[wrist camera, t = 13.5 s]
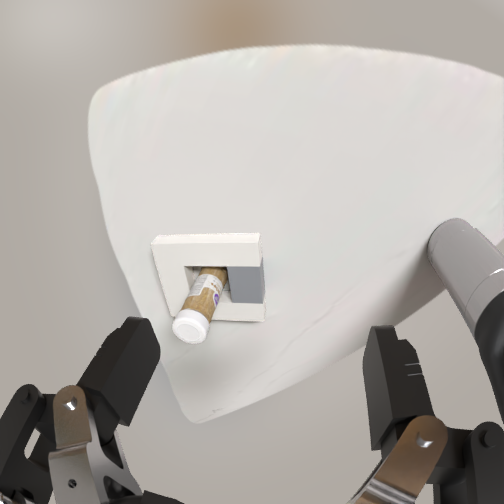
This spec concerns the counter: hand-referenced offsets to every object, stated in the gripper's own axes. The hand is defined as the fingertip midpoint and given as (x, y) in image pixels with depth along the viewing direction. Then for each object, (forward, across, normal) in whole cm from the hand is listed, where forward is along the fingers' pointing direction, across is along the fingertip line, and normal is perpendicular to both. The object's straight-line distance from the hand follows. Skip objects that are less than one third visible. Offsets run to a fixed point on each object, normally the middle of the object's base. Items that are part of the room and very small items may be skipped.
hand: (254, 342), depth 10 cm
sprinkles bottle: (+30, +12, +17) cm, 37 cm away
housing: (+30, +12, +17) cm, 37 cm away
